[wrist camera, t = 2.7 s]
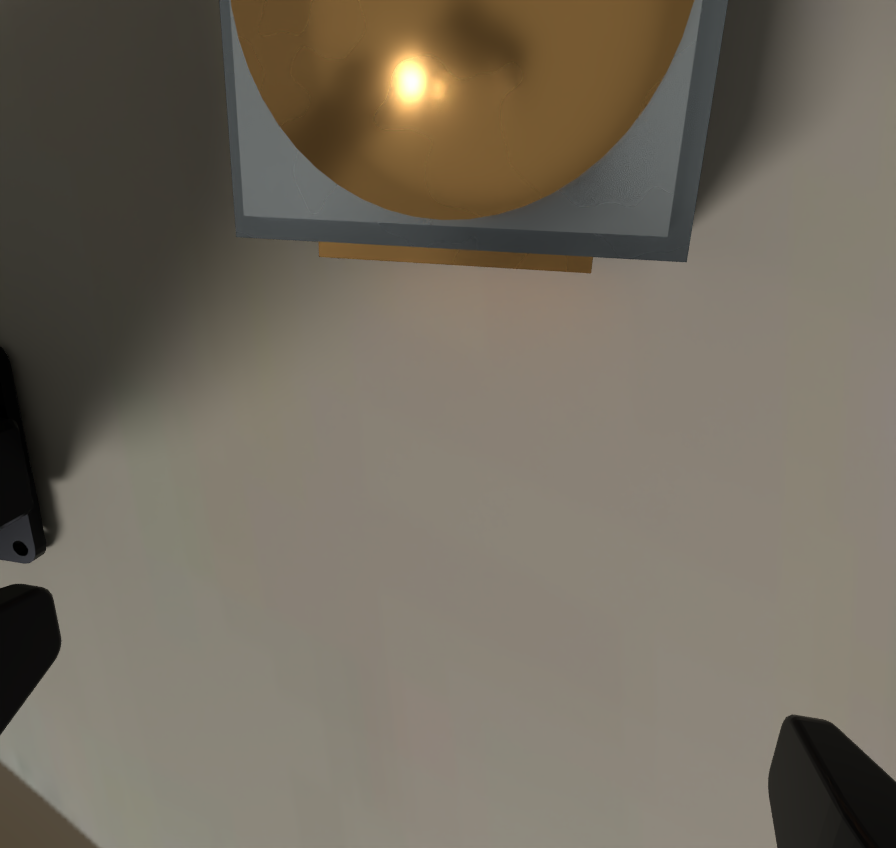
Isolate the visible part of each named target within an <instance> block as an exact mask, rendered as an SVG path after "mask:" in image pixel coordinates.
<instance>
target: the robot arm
mask: <svg viewBox="0 0 896 848" xmlns="http://www.w3.org/2000/svg"><path fill="white" fill-rule="evenodd" d="M45 551H46V541H45V536H44V531H43V526H42V521H41V516H40V511H39V506H38V501H37V496H36V491H35V486H34V481H33V475H32V470H31V465H30V460H29V455H28V450H27V445H26V440H25V435H24V430H23V425H22V420H21V415H20V410H19V405H18V400H17V395H16V390H15V385H14V380H13V375H12V370H11V365H10V361H9V358H8V355H7V354H6V352H5V351H4V350H3V348H1V347H0V560H6V561H12V562H18V563H30V562H32V561H34V560H35V559H37V558H38V557H40V556H41V555H43V554H44V553H45ZM60 647H61V634H60V629H59V624H58V619H57V615H56V610H55V605H54V600H53V596H52V594H51V593H50V592H49V590H47V589H45V588H43V587H38V586H32V585H26V584H13V585H9V586H6V587H3V588H0V735H1V733H2V732H3V731H4V729H5V728H6V727H7V725H8V724H9V722H10V721H11V720H12V718H13V717H14V716H15V714H16V713H17V712H18V710H19V709H20V707H21V706H22V705H23V703H24V702H25V701H26V699H27V698H28V696H29V695H30V694H31V692H32V691H33V690H34V688H35V687H36V686H37V684H38V683H39V681H40V680H41V679H42V677H43V676H44V675H45V673H46V672H47V671H48V669H49V668H50V666H51V665H52V664H53V662H54V661H55V659H56V658H57V656H58V653H59V651H60ZM768 791H769V799H770V806H771V812H772V818H773V824H774V830H775V836H776V842H777V848H896V781H894V780H893V779H892V778H891V777H890V776H889V775H888V774H887V773H886V772H885V771H884V770H883V769H882V768H880V767H879V766H878V765H877V764H876V763H875V762H874V761H873V760H872V759H871V758H870V757H869V756H868V755H866V754H865V753H864V752H863V751H862V750H861V749H860V748H859V747H858V746H857V745H856V744H855V743H854V742H852V741H851V740H850V739H849V738H848V737H847V736H846V735H845V734H844V733H843V732H842V731H841V730H840V729H838V728H837V727H836V726H835V725H834V724H832V723H831V722H829V721H826V720H823V719H817V718H811V717H805V716H799V715H790V716H788V717H786V718H785V720H784V721H783V723H782V726H781V730H780V734H779V737H778V741H777V745H776V748H775V752H774V756H773V759H772V763H771V767H770V771H769V778H768Z"/></svg>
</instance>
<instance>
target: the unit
mask: <svg viewBox="0 0 896 848" xmlns="http://www.w3.org/2000/svg"><path fill="white" fill-rule="evenodd" d="M219 3H220V17H221V31H222V45H223V59H224V73H225V87H226V101H227V115H228V129H229V143H230V157H231V171H232V185H233V199H234V213H235V227H236V237H246V238H264V239H281V240H299V241H317V242H319V257H331V258H347V259H364V260H380V261H397V262H413V263H430V264H447V265H463V266H480V267H496V268H513V269H529V270H546V271H562V272H579V273H591V269H592V260H593V257H603V258H621V259H639V260H657V261H675V262H687V256H688V250H689V244H690V237H691V231H692V225H693V219H694V212H695V206H696V200H697V193H698V187H699V181H700V175H701V168H702V162H703V156H704V149H705V143H706V137H707V130H708V124H709V118H710V112H711V105H712V99H713V93H714V86H715V80H716V74H717V67H718V61H719V55H720V49H721V42H722V36H723V30H724V23H725V17H726V11H727V4H728V0H219Z"/></svg>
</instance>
